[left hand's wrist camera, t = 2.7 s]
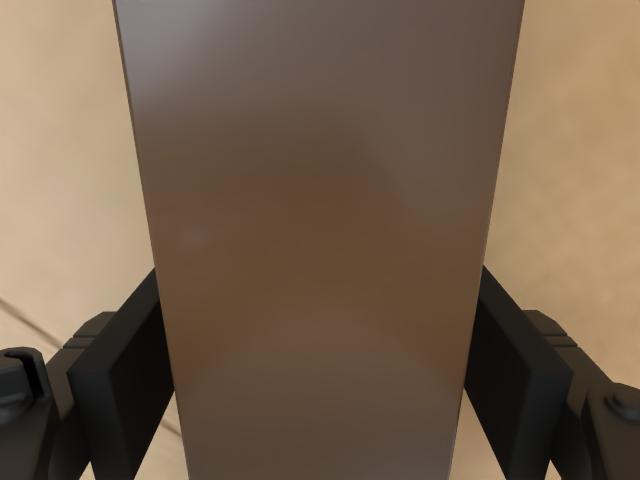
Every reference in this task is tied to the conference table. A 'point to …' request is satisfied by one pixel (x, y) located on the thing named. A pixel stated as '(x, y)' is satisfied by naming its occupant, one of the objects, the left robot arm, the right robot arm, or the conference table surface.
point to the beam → (318, 221)
